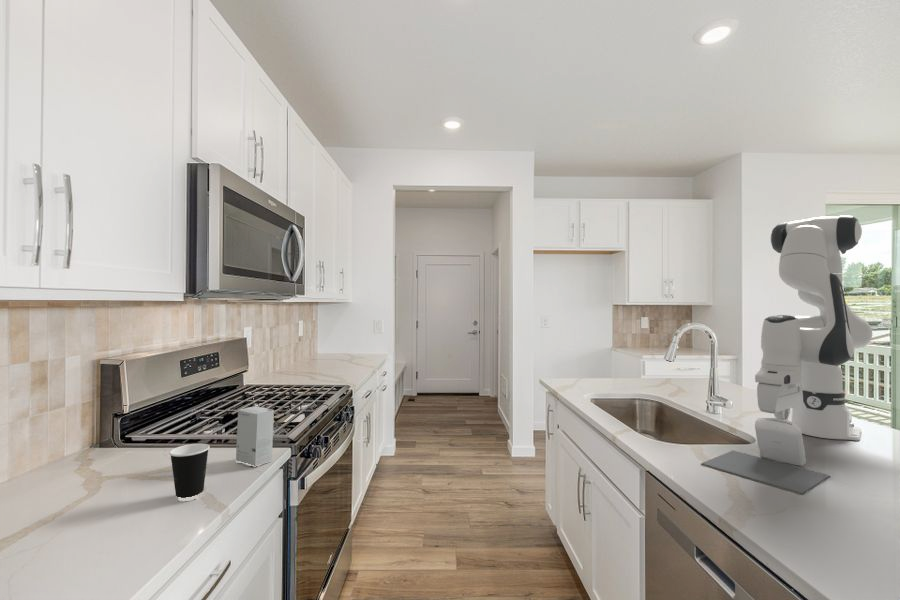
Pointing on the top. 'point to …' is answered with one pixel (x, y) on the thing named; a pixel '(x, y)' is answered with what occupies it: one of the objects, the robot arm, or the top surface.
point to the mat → (767, 471)
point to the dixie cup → (189, 469)
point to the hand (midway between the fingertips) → (782, 425)
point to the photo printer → (780, 440)
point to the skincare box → (254, 435)
